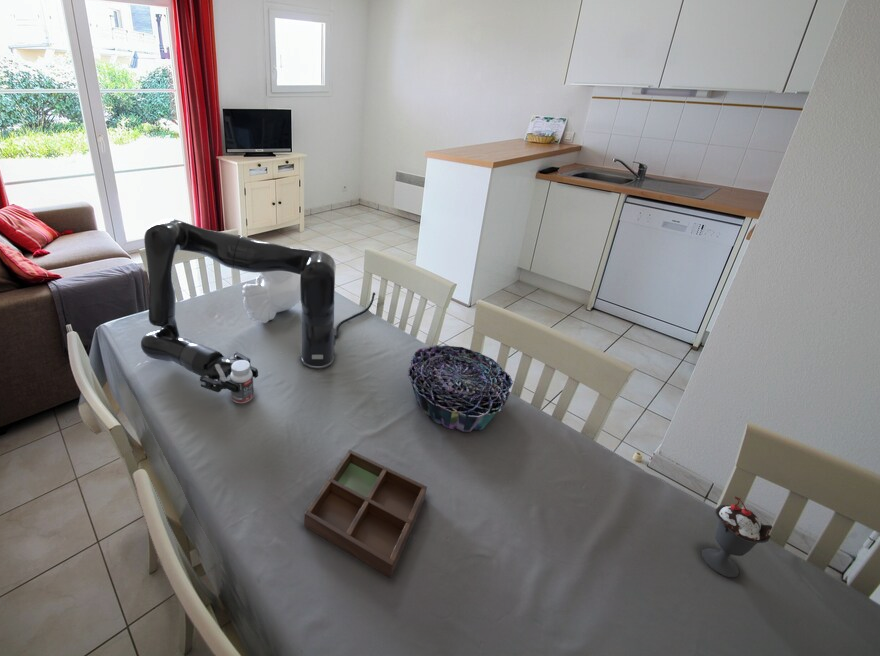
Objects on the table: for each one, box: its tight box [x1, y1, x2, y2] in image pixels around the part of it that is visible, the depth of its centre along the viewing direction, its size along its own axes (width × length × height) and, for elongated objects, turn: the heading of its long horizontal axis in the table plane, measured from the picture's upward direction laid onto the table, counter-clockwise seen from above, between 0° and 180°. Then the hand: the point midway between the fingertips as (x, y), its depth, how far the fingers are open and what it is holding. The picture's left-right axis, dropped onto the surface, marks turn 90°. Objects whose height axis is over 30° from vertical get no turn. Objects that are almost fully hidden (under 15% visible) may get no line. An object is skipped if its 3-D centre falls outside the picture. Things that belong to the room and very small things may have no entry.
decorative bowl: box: [407, 344, 514, 433], centre depth 110 cm, size 26×28×10 cm
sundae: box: [701, 496, 773, 578], centre depth 72 cm, size 7×7×15 cm
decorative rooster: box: [241, 271, 301, 324], centre depth 148 cm, size 25×16×25 cm
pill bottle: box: [229, 360, 255, 404], centre depth 110 cm, size 6×6×10 cm
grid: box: [304, 449, 428, 579], centre depth 82 cm, size 17×17×3 cm
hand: (248, 381), depth 109 cm, fingers open, 6 cm apart
